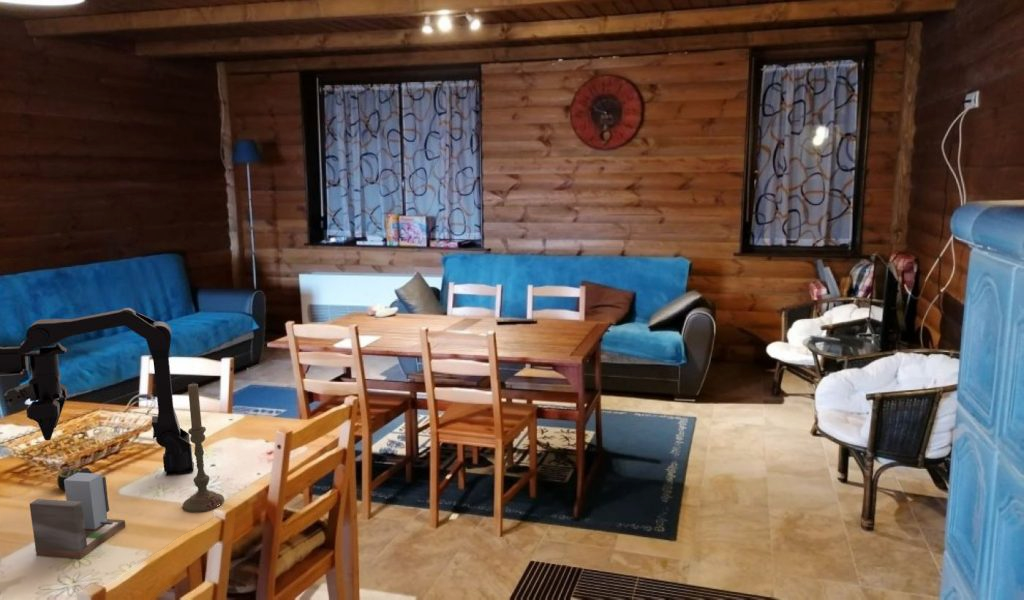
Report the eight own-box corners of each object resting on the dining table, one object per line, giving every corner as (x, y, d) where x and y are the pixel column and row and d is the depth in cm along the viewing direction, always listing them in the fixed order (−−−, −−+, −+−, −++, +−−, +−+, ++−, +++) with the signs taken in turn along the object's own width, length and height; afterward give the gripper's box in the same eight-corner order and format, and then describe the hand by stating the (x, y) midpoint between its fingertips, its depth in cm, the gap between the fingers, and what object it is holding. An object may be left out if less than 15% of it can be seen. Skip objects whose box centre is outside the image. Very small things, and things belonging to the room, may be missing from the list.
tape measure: (86, 490, 183) (84, 476, 182) (54, 494, 181) (53, 479, 180) (92, 479, 189) (90, 465, 188) (62, 483, 187) (60, 469, 186)
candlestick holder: (198, 515, 168) (187, 389, 163) (174, 506, 173) (162, 383, 167) (232, 500, 176) (222, 379, 170) (208, 492, 180) (197, 374, 175)
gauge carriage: (84, 517, 163) (78, 471, 162) (120, 520, 162) (114, 473, 160) (69, 527, 159) (63, 480, 157) (106, 530, 158) (100, 482, 156)
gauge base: (84, 523, 165) (78, 475, 163) (125, 526, 163) (120, 477, 161) (36, 555, 151) (29, 503, 149) (80, 559, 150) (73, 506, 148)
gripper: (13, 366, 182) (18, 426, 185) (-3, 385, 166) (3, 451, 168) (65, 362, 187) (69, 421, 190) (54, 380, 170) (60, 445, 173)
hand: (50, 434), depth 180 cm, fingers open, 9 cm apart
